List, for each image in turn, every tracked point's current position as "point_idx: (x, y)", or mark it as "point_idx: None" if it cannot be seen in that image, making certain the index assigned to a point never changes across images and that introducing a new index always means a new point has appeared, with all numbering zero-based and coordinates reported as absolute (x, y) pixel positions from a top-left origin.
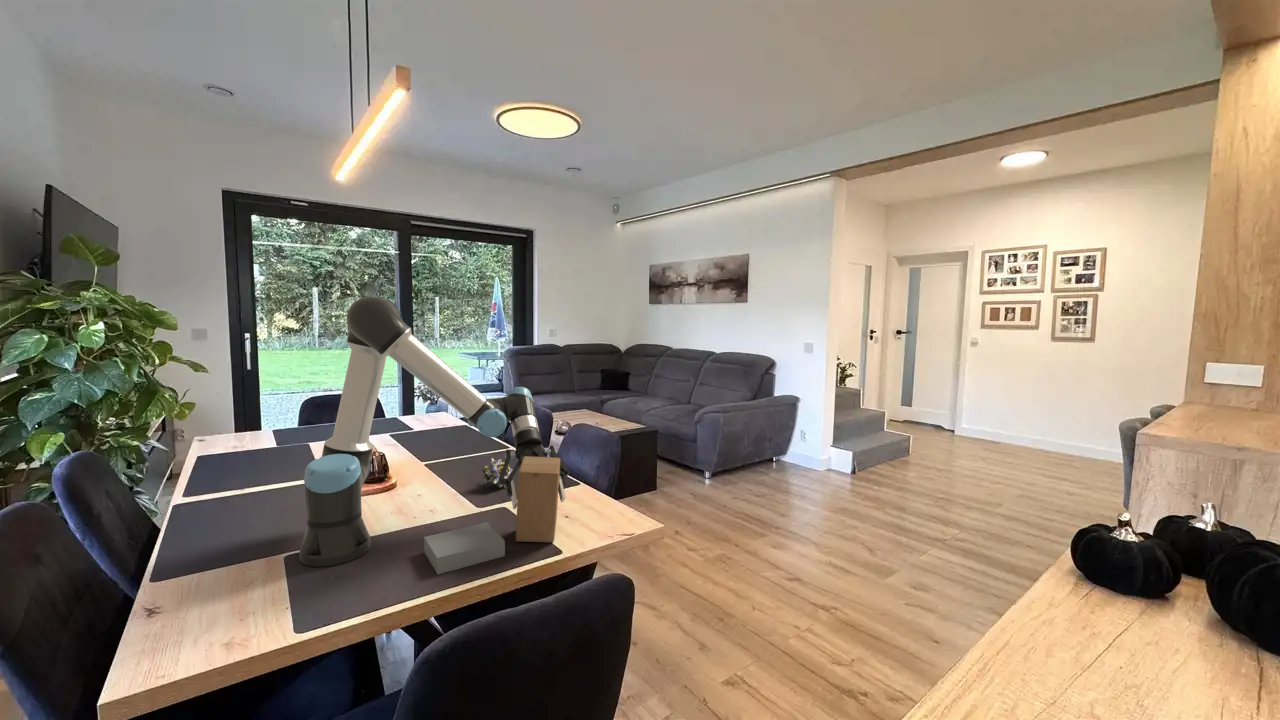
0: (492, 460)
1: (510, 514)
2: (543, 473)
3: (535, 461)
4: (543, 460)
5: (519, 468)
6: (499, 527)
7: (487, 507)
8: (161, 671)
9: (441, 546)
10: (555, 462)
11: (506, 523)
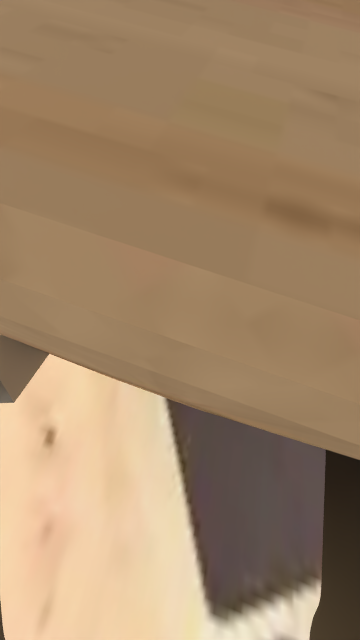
0: None
1: (205, 526)
2: None
3: (282, 47)
4: (63, 30)
5: (341, 544)
6: (245, 432)
7: (269, 634)
8: None
9: None
10: None
11: (225, 454)
